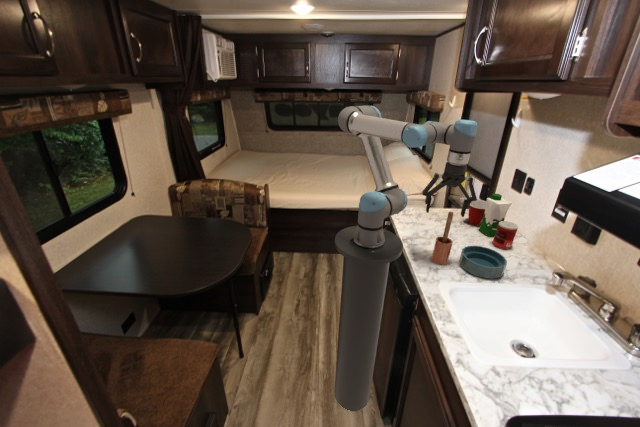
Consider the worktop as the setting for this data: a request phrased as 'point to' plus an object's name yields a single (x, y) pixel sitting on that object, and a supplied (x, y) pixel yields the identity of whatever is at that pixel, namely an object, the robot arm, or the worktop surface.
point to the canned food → (505, 234)
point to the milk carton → (494, 214)
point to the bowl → (482, 261)
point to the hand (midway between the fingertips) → (444, 213)
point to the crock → (441, 251)
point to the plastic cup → (476, 212)
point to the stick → (447, 227)
